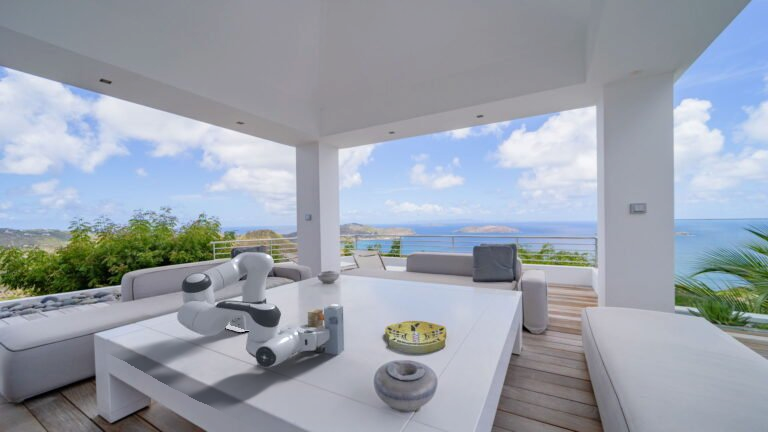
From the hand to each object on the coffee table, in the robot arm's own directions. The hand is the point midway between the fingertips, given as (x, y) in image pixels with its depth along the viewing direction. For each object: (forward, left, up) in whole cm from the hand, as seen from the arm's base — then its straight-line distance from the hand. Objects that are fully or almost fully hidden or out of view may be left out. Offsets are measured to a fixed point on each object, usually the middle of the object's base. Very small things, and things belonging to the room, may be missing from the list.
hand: (315, 327), depth 124 cm
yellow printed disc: (+37, +23, -9) cm, 44 cm away
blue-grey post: (+9, 0, -9) cm, 13 cm away
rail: (-7, 0, -9) cm, 11 cm away
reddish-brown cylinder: (+5, 0, +3) cm, 6 cm away
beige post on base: (0, 0, -7) cm, 7 cm away
